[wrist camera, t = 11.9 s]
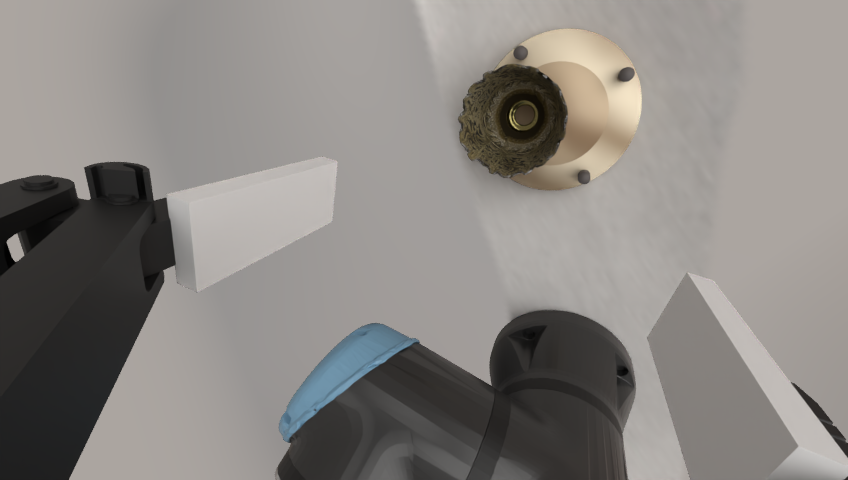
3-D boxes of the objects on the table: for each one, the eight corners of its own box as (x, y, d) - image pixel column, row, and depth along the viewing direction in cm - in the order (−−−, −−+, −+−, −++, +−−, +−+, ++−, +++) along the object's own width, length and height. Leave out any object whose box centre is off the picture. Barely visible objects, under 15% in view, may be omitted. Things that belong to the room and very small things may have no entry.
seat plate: (600, 203, 34) (601, 212, 31) (468, 164, 37) (460, 170, 34) (670, 47, 28) (678, 44, 25) (505, 17, 31) (499, 12, 28)
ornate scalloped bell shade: (466, 122, 34) (437, 133, 27) (520, 48, 30) (502, 38, 23) (528, 174, 33) (514, 198, 27) (590, 106, 30) (593, 113, 23)
